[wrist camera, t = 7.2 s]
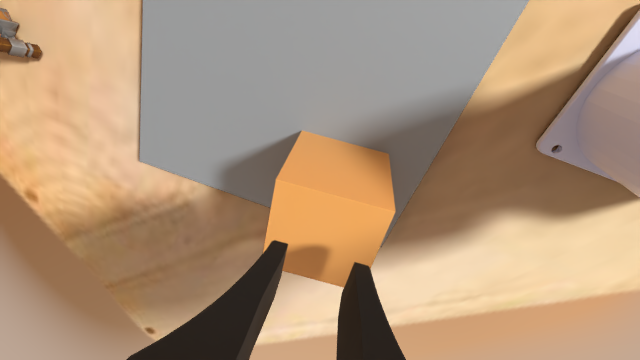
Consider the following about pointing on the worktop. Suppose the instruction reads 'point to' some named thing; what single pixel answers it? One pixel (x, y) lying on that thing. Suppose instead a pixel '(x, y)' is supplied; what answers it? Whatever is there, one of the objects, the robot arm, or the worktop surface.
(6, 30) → the wooden post with brackets
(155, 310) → the worktop surface
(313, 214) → the orange block
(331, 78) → the post board
